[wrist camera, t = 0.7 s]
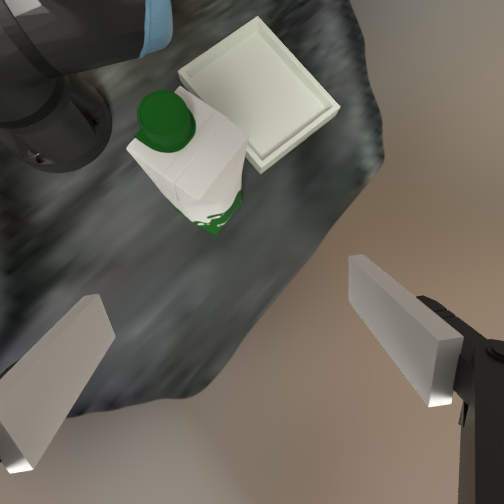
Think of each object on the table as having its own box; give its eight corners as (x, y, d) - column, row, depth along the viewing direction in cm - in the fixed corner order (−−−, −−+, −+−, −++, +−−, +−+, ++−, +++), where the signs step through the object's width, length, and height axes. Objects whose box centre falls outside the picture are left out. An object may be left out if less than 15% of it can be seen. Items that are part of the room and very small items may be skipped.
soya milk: (204, 165, 42) (173, 56, 22) (251, 199, 42) (263, 119, 22) (169, 210, 41) (102, 136, 21) (217, 245, 40) (196, 204, 21)
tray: (180, 81, 44) (177, 70, 41) (256, 28, 45) (257, 15, 43) (260, 174, 42) (261, 168, 40) (335, 115, 44) (340, 106, 42)
